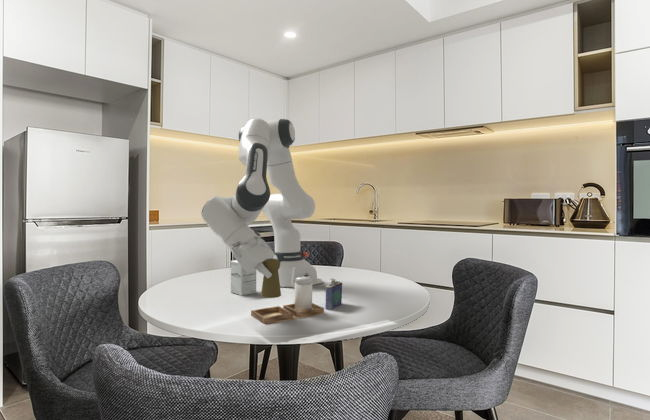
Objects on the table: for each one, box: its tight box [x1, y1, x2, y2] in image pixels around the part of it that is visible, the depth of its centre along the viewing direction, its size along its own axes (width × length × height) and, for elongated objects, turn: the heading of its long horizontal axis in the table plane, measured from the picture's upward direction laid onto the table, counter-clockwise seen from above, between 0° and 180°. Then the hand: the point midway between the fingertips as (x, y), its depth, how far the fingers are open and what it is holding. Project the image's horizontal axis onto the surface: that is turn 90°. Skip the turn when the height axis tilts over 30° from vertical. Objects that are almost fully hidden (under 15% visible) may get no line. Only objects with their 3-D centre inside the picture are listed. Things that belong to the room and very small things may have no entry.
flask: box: [324, 277, 343, 311], centre depth 133 cm, size 9×3×11 cm, turn 151°
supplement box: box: [230, 259, 257, 296], centre depth 157 cm, size 7×7×13 cm
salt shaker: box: [294, 276, 313, 312], centre depth 126 cm, size 6×6×11 cm
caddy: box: [250, 302, 326, 325], centre depth 124 cm, size 20×11×3 cm, turn 123°
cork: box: [260, 258, 282, 299], centre depth 120 cm, size 6×6×11 cm
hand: (273, 274), depth 120 cm, fingers closed on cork, 4 cm apart
